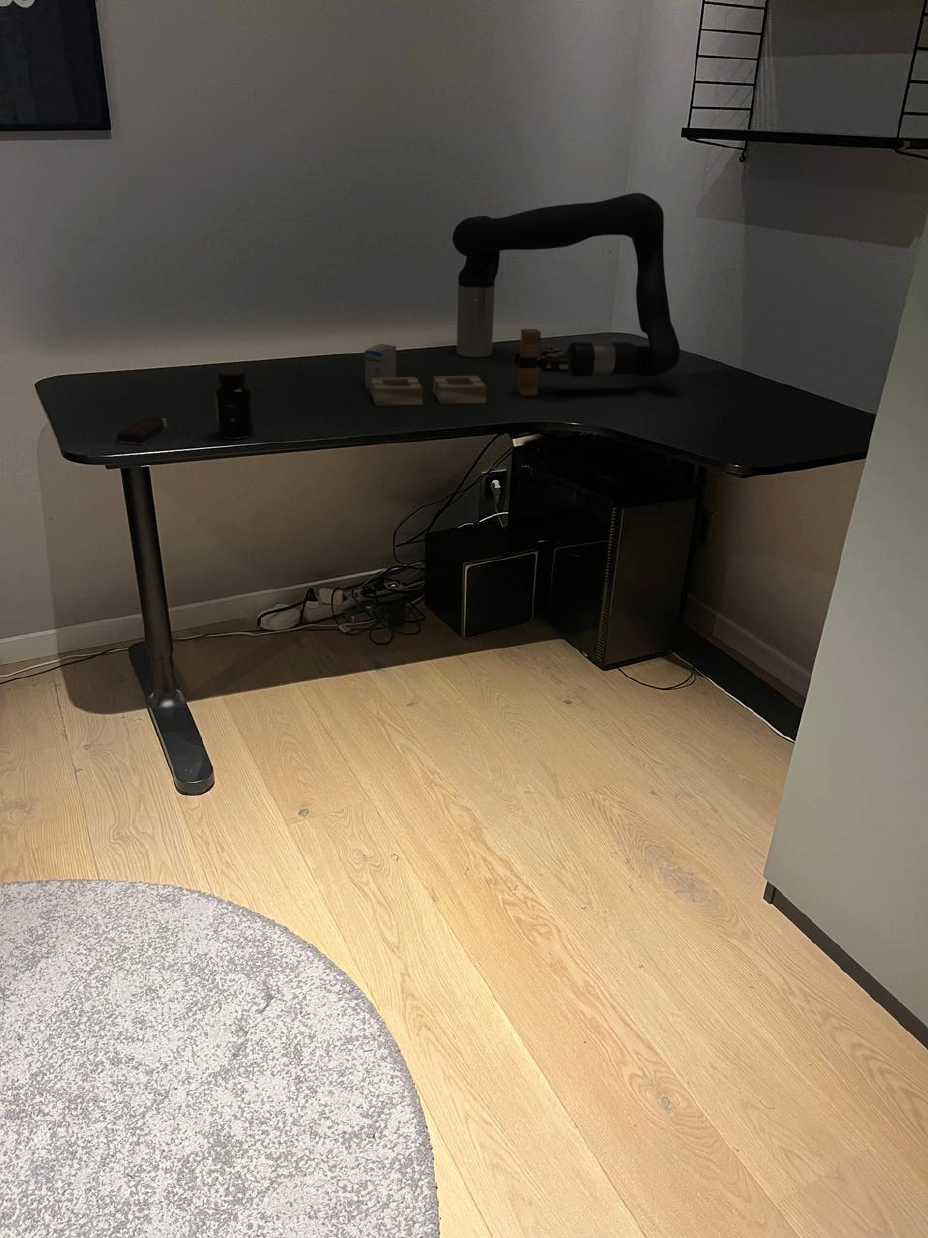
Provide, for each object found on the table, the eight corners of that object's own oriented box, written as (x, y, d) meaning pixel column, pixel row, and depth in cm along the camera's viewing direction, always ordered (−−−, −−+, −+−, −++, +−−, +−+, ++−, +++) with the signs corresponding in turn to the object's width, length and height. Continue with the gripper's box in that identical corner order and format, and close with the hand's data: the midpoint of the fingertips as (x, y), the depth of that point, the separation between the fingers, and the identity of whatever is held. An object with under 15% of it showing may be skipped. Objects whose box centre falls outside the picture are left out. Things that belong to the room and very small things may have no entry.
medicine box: (379, 380, 227) (378, 343, 223) (396, 383, 226) (396, 345, 221) (364, 388, 220) (364, 350, 216) (382, 391, 219) (382, 352, 215)
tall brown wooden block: (518, 392, 221) (521, 329, 215) (532, 391, 222) (536, 328, 215) (521, 396, 218) (525, 332, 212) (536, 395, 219) (540, 332, 212)
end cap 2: (433, 391, 219) (433, 376, 218) (476, 390, 221) (477, 375, 219) (440, 404, 211) (441, 388, 209) (486, 402, 212) (486, 386, 211)
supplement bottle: (213, 438, 185) (207, 375, 179) (225, 428, 191) (220, 366, 185) (247, 441, 184) (242, 377, 179) (259, 430, 190) (255, 368, 185)
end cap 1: (371, 393, 217) (370, 377, 215) (415, 392, 218) (415, 376, 217) (376, 405, 208) (376, 389, 206) (422, 404, 210) (422, 388, 208)
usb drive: (117, 445, 181) (115, 430, 180) (147, 427, 192) (145, 413, 190) (143, 447, 180) (141, 433, 179) (172, 429, 191) (170, 415, 190)
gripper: (583, 335, 224) (510, 336, 220) (602, 349, 211) (525, 350, 208) (580, 368, 227) (508, 369, 224) (599, 383, 215) (523, 385, 212)
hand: (517, 360), depth 216 cm, fingers closed on tall brown wooden block, 3 cm apart
